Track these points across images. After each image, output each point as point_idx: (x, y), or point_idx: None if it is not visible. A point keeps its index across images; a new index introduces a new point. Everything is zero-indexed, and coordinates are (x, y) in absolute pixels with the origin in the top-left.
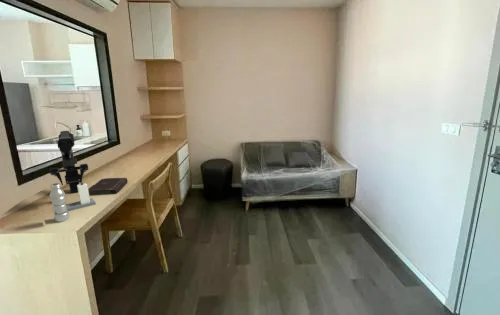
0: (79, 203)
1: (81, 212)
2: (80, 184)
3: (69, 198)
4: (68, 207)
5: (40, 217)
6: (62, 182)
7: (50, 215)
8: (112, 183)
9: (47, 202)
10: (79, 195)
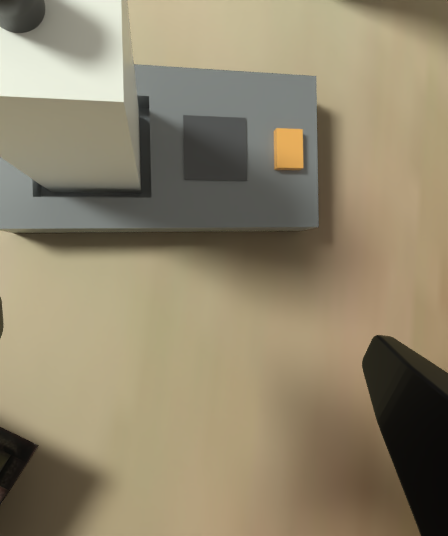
0: (151, 145)
1: (163, 12)
2: (45, 79)
3: (201, 525)
4: (262, 105)
5: (445, 166)
6: (393, 386)
7: (383, 152)
8: None
9: (378, 530)
10: (133, 90)
